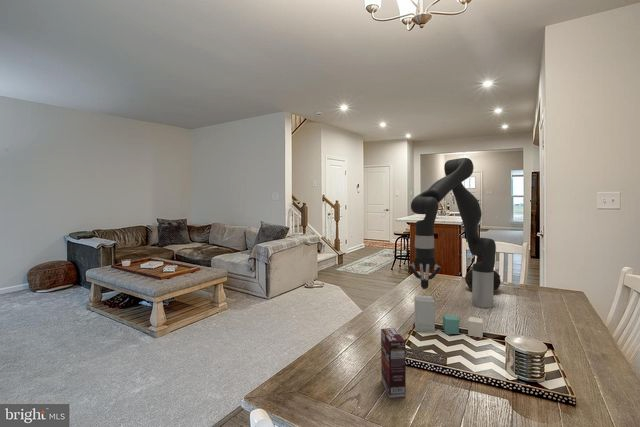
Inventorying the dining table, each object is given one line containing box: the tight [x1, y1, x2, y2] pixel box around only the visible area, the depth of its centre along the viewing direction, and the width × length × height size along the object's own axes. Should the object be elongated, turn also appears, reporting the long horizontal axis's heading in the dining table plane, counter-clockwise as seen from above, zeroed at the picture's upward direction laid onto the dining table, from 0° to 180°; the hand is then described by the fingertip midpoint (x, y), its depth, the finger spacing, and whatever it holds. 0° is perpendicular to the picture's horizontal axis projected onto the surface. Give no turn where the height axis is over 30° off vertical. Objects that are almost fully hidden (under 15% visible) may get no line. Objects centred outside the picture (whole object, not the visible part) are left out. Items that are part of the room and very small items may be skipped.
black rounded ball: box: [464, 256, 502, 293], centre depth 183 cm, size 18×18×28 cm
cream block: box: [467, 316, 484, 337], centre depth 127 cm, size 5×5×6 cm
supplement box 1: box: [380, 327, 407, 399], centre depth 92 cm, size 9×5×16 cm, turn 5°
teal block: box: [442, 314, 460, 335], centre depth 130 cm, size 5×5×6 cm
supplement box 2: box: [414, 295, 436, 334], centre depth 133 cm, size 7×7×13 cm
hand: (424, 288), depth 132 cm, fingers closed
